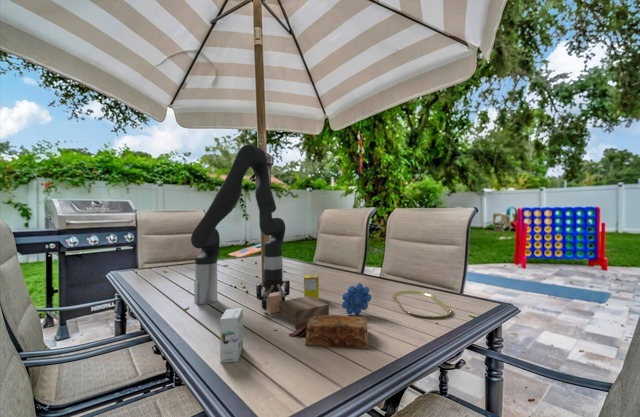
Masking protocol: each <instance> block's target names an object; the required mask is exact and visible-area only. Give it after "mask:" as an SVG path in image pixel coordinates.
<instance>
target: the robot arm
mask: <svg viewBox="0 0 640 417" xmlns="http://www.w3.org/2000/svg"><path fill="white" fill-rule="evenodd" d="M250 168H251V169H252V171H253V173H254V176H255V191H254V193H255V200H256V204H257V207H258V210H259V213H258V217H259V218H258V219H259V220H258V221H259V230H260V232H261V233H262V234H263V235H264V236H268V237H270V238H269V240H268V241H266V242H265V243H264V248H263V249H264V251H263V252H264V255H263V256H264V258H263V282H262V283H260V284H259V283H256V285H255V287H256V288H255V290H256V291H255V292H256V299H257V300H258V301H261V308H262V310H263V311H266V310H267V301H266V299H267V297H268V296H269V295H270V294H274V293H278V294H279V295H280V296H282V301H284V300H286V296H290V292H291V291H290V290H291V289H290V288H291V287H290V285H291V284H290V283H291V281H290V280H289V279H285V280H283V276H284V275H283V273H284V272H283V271H284V270H283V269H284V268H283V265H284V264H283V248H282V247H283V242H284V238H285V234H286V224H285V221H284V219H282V218H280V217H273V213H274V212H276V211H277V206H276V202H275V199H274V198H275V197H274V195H273V191H272V187H271V182H270V176H269V169H268V160H267V156H266V152H265V151H264V149H262V148H260V147H258V146H256V145H253V144H251V143H246V144H243V145H242V146H241V147H240V148H239V149H238V151H237V153H236V156H235V158H234V161H233V162H232V165H231V167H230V169H229V171H228V173H227V175H226V176H225V179H224V181H223V183H222V184H221V186H220V188H219V189H218V191H217V193H216V194H215V195H214V198H213V200H212V202H211V204H210V205H209V206H208V209H207V211H206V213H205V214H204V215H203V217H202V219H201V220H200V221H199V223H198V224H197V225H196V227H195V228H194V229H193V231H192V233H191V237H190V242H191V245H192V246H193V247H194V248H195V249H201V251H200V253H199V254H198V255H197V256H196V257H195V259H194V261H195V263H194V266H195V267H194V269H195V270H194V273H195V274H194V276H195V278H194V282H193V283H194V284H193V288H194V292H193V295H194V298H193V299H194V300H193V301H194V302H195V304H196V305H209V304H213V303H216V302H217V301H218V258H219V254H220V243H221V242H220V241H221V240H220V233H219V230H218V229H216V227H217V226H218V225H219V224H220V222H221V221H223V220H224V219H225V218H226V217H227V216H228V215H230V213H232V211H233V210H234V208H236V205H237V203H238V202H239V200H240V198H241V195H242V187H243V181H244V177H245V175H246V173H247V172H248V170H249V169H250ZM283 286H284V290H283V288H282V287H283ZM263 289H264V290H263ZM262 290H263V291H262Z"/></svg>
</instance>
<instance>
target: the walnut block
mask: <svg viewBox="0 0 640 417" xmlns="http://www.w3.org/2000/svg"><path fill="white" fill-rule="evenodd" d="M279 314H280V315H281V316H283V317H284V318H286V319H288V320H289V321H290V322H291V323H293V324H295V325H297V324H299V323H302V322H307V321H308V318H309V317H312V316H320V315H330V304H329V303H326V302H324V301H322V300H320V299H316V298H314V297H312V296H306V297H304V296H302V297H296V298H290V299H285V300H284V301H280V312H279Z"/></svg>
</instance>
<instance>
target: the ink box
mask: <svg viewBox="0 0 640 417" xmlns="http://www.w3.org/2000/svg"><path fill="white" fill-rule="evenodd" d="M243 309H244V308H243V307H242V308H241V307H239V308H228V309H225V311H224V313H223V314H222V315H221V317H220V319H219V331H220V332H219V348H220V349H219V350H220V351H219V352H220V354H219V361H220V363H223V364H224V363H237V362H239V360H240V358H241V354H242V351H243V349H244V326H243V325H244V310H243Z"/></svg>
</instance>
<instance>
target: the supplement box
mask: <svg viewBox="0 0 640 417" xmlns="http://www.w3.org/2000/svg"><path fill="white" fill-rule="evenodd" d="M319 280H320V279H319V274H305V276H304V278H303V282H304V283H303V286H304V287H303V288H304V289H303V290H304V291H303V292H304V295H303V297H306V296H312V297H314V298H316V299H318V300H320V282H319Z"/></svg>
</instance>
